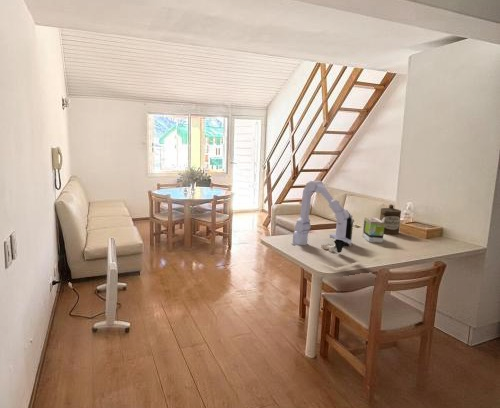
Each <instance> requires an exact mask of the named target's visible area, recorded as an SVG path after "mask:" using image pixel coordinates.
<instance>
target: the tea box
mask: <svg viewBox="0 0 500 408" xmlns="http://www.w3.org/2000/svg"><path fill="white" fill-rule="evenodd" d="M363 219H364V220H363V228H362V229H363V230H362V237H363V238H364V239H365V240H366V241H367V242H369V243H383V240H384V235H385V234H384V226H385V222H383V221H382V220H380V218H377V217H364V218H363Z"/></svg>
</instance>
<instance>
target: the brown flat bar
mask: <svg viewBox="0 0 500 408" xmlns="http://www.w3.org/2000/svg"><path fill="white" fill-rule="evenodd" d="M331 244H332V245H330V246H334V247H335V248H336V245H335V244H334V243H331ZM322 249H323V250H327V251H328V250H329V248H327V246H326V247H323V248H322Z"/></svg>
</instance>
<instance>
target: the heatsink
mask: <svg viewBox="0 0 500 408" xmlns="http://www.w3.org/2000/svg"><path fill="white" fill-rule="evenodd" d="M332 244H333V243H325V244H321V245H320V248H322V249H323V247H326V246H330V245H332ZM334 252H337V248H335V247H334Z"/></svg>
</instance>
